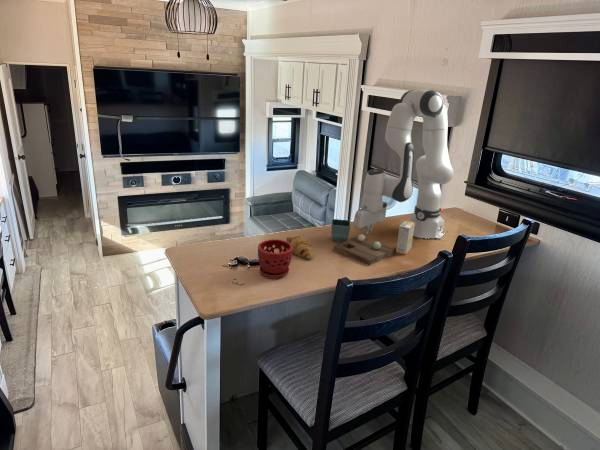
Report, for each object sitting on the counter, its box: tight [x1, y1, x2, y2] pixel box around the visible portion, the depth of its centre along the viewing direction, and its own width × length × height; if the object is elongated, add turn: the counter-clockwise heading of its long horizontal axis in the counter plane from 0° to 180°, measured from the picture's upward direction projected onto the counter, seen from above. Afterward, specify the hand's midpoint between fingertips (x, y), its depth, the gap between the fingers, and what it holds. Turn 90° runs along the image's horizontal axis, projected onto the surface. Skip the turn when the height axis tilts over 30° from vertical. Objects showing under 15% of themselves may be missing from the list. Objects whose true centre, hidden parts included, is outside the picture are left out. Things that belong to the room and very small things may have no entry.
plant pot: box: [257, 238, 293, 279], centre depth 159 cm, size 13×13×12 cm
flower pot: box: [330, 218, 351, 243], centre depth 196 cm, size 9×9×9 cm
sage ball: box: [373, 241, 382, 249], centre depth 182 cm, size 3×3×3 cm
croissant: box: [286, 235, 314, 260], centre depth 182 cm, size 21×10×8 cm, turn 31°
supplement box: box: [395, 220, 415, 256], centre depth 186 cm, size 8×5×13 cm, turn 149°
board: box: [332, 235, 395, 267], centre depth 184 cm, size 18×20×2 cm
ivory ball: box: [357, 233, 366, 241], centre depth 190 cm, size 3×3×3 cm
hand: (367, 232), depth 194 cm, fingers closed
